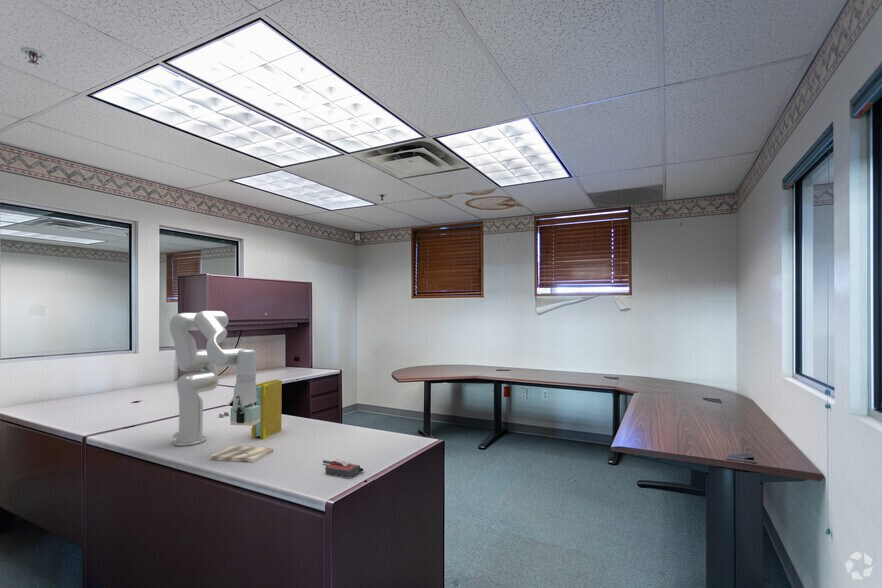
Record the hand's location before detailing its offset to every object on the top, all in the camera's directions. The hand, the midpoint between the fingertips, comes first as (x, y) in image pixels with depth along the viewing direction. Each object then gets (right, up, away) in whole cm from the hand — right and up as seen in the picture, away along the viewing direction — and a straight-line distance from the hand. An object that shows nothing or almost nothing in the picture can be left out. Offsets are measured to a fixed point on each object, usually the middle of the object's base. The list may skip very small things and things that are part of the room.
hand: (245, 420), depth 177 cm
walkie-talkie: (+45, -12, -24) cm, 53 cm away
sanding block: (0, -1, 0) cm, 1 cm away
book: (-1, -15, +27) cm, 31 cm away
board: (+1, -13, -5) cm, 14 cm away
